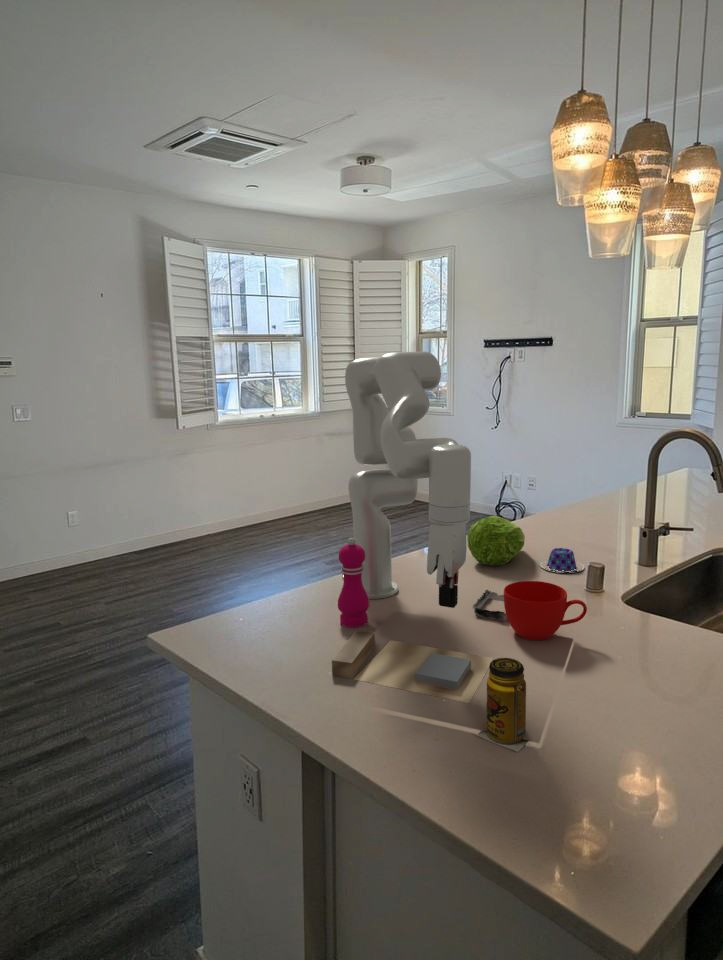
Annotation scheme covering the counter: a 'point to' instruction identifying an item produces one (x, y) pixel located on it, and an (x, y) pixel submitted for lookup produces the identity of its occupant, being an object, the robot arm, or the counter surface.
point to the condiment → (506, 704)
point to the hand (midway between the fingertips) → (448, 605)
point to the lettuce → (495, 540)
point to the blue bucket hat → (561, 560)
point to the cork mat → (405, 659)
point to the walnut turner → (353, 654)
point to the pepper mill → (352, 586)
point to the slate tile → (443, 671)
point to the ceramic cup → (537, 608)
